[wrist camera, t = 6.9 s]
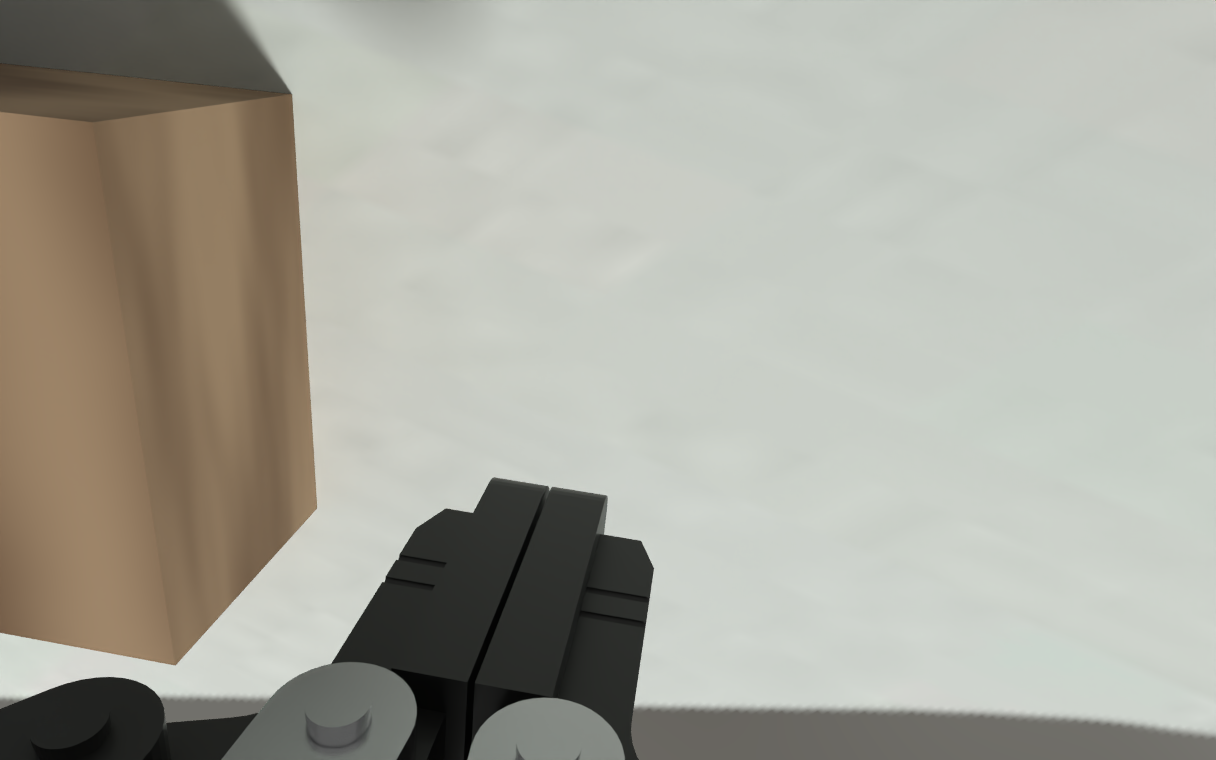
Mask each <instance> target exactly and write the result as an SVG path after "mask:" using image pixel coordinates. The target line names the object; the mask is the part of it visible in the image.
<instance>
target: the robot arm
mask: <svg viewBox="0 0 1216 760" xmlns="http://www.w3.org/2000/svg"><path fill="white" fill-rule="evenodd" d="M606 512H607V496H606V495H600V494H594V493H587V492H581V491H575V490H569V489H563V488H557V487H552V488H551V490H550V491H549V487H548V486H543V485H537V484H531V483H525V482H519V481H513V480H506V479H500V478H492V479H491V481H490V482H489V484H488V486H487V488H486V490H485V492H484V494H483V495H482V497H481V499H480V501H479V503H478V505H477V507H476V509H475V511H474V512H473V513H469V512H463V511H457V510H451V509H444V510H443V511H441V512H440V513H438V514H437V515H435V516H434V517H432V518H431V519H429V520H428V521H426V522H425V523H423V524H422V525H420V526H419V527H417V528H416V529H415V531H414V532H413V534H412V536H411V537H410V539H409V540H408V542H407V544H406V545H405V547H404V548H403V550H402V552H401V553H400V556H399V560H396V561H395V563H394V564H393V566H392V568H391V569H390V571H389V572H388V574H387V576H386V580H385V582H382V584H381V585H380V587H379V588H378V590H377V592H376V593H375V595H374V596H373V598H372V600H371V601H370V603H369V604H368V606H367V608H366V609H365V611H364V612H363V614H362V616H361V617H360V619H359V620H358V622H357V624H356V625H355V627H354V628H353V630H352V632H351V633H350V635H349V636H348V638H347V640H346V641H345V643H344V644H343V646H342V648H341V649H340V651H339V652H338V654H337V656H336V657H335V659H334V660H333V662H332V664H329V665H324V666H321V667H318V668H314V669H311V670H309V671H307V672H305V673H302V674H300V675H298V676H297V677H295V678H293V679H292V680H290V681H288V682H287V683H286V684H285V685H283V686H282V687H281V688H280V689H278V690H277V691H276V692H275V694H274V695H273V696H272V697H271V698H270V699H269V700H268V701H267V703H266V704H265V705H264V706H263V708H262V709H261V710H260V712H259V713H256V714H252V715H247V716H241V717H234V718H223V719H209V720H196V721H184V722H172V723H166V720H165V713H164V707H163V704H162V702H161V700H160V698H159V697H158V695H157V694H156V693H155V692H154V691H153V690H152V689H150V688H149V687H147V686H146V685H144V684H141V683H139V682H137V681H133V680H129V679H125V678H115V677H100V678H91V679H84V680H79V681H75V682H71V683H67V684H64V685H61V686H58V687H55V688H52V689H49V690H47V691H44V692H42V693H39V694H37V695H34V696H32V697H29V698H27V699H24V700H22V701H19V702H17V703H14V704H12V705H9V706H7V707H4V708H2V709H0V760H639V759H638V758H637V756H636V753H635V750H634V747H633V744H632V737H631V722H632V715H633V708H634V701H635V694H636V687H637V681H638V674H639V667H640V660H641V653H642V646H643V640H644V633H645V626H646V619H647V612H648V605H649V598H650V592H651V585H652V578H653V571H654V568H653V565H652V563H651V561H650V559H649V557H648V555H647V553H646V550H645V548H644V546H643V544H642V542H641V541H638V540H632V539H626V538H620V537H614V536H608V535H604V528H605V520H606Z"/></svg>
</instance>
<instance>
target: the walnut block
mask: <svg viewBox="0 0 1216 760" xmlns="http://www.w3.org/2000/svg"><path fill="white" fill-rule="evenodd" d="M316 509H317V499H316V482H315V466H314V449H313V433H312V416H311V400H310V383H309V367H308V350H307V334H306V317H305V301H304V284H303V268H302V251H301V235H300V218H299V202H298V185H297V169H296V152H295V136H294V119H293V103H292V94H285V93H276V92H266V91H257V90H247V89H238V88H229V87H219V86H210V85H200V84H191V83H181V82H172V81H163V80H153V79H144V78H134V77H125V76H115V75H106V74H97V73H87V72H78V71H68V70H59V69H50V68H40V67H31V66H21V65H12V64H2V63H0V633H5V634H10V635H15V636H21V637H26V638H32V639H37V640H42V641H48V642H53V643H58V644H64V645H69V646H74V647H80V648H85V649H91V650H96V651H101V652H107V653H112V654H117V655H123V656H128V657H133V658H139V659H144V660H150V661H155V662H160V663H166V664H171V665H176V664H177V663H178V662H179V661H180V660H181V659H182V657H183V656H184V655H185V654H186V653H187V652H188V651H189V650H190V649H191V648H192V646H193V645H194V644H195V643H196V642H197V641H198V640H199V639H200V638H201V636H202V635H203V634H204V633H205V632H206V631H207V630H208V629H209V628H210V626H211V625H212V624H213V623H214V622H215V621H216V620H217V619H218V618H219V616H220V615H221V614H222V613H223V612H224V611H225V610H226V609H227V608H228V606H229V605H230V604H231V603H232V602H233V601H234V600H235V599H236V598H237V596H238V595H239V594H240V593H241V592H242V591H243V590H244V589H245V588H246V586H247V585H248V584H249V583H250V582H251V581H252V580H253V579H254V578H255V577H256V575H257V574H258V573H259V572H260V571H261V570H262V569H263V568H264V567H265V565H266V564H267V563H268V562H269V561H270V560H271V559H272V558H273V557H274V555H275V554H276V553H277V552H278V551H279V550H280V549H281V548H282V547H283V545H284V544H285V543H286V542H287V541H288V540H289V539H290V538H291V537H292V535H293V534H294V533H295V532H296V531H297V530H298V529H299V528H300V527H301V525H302V524H303V523H304V522H305V521H306V520H307V519H308V518H309V517H310V516H311V514H312V513H313V512H314V511H315V510H316Z"/></svg>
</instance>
